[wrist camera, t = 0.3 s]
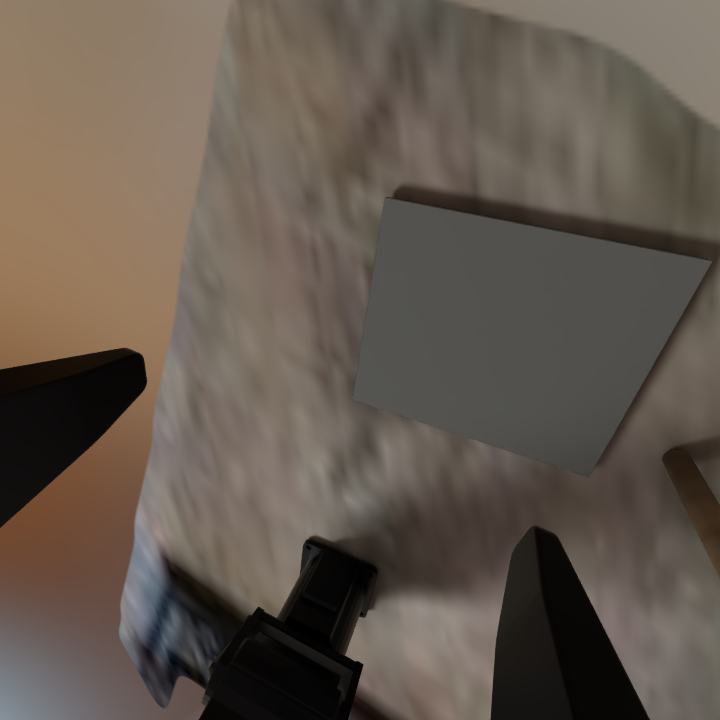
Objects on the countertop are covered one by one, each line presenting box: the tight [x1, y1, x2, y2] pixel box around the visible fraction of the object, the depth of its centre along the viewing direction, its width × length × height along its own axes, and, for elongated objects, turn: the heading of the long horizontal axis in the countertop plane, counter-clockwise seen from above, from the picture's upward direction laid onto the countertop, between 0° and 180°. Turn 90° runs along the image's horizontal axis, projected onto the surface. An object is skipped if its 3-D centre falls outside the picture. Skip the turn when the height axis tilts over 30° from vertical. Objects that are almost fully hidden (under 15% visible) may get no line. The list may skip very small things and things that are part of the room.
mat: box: [352, 197, 712, 477], centre depth 21 cm, size 12×14×1 cm
